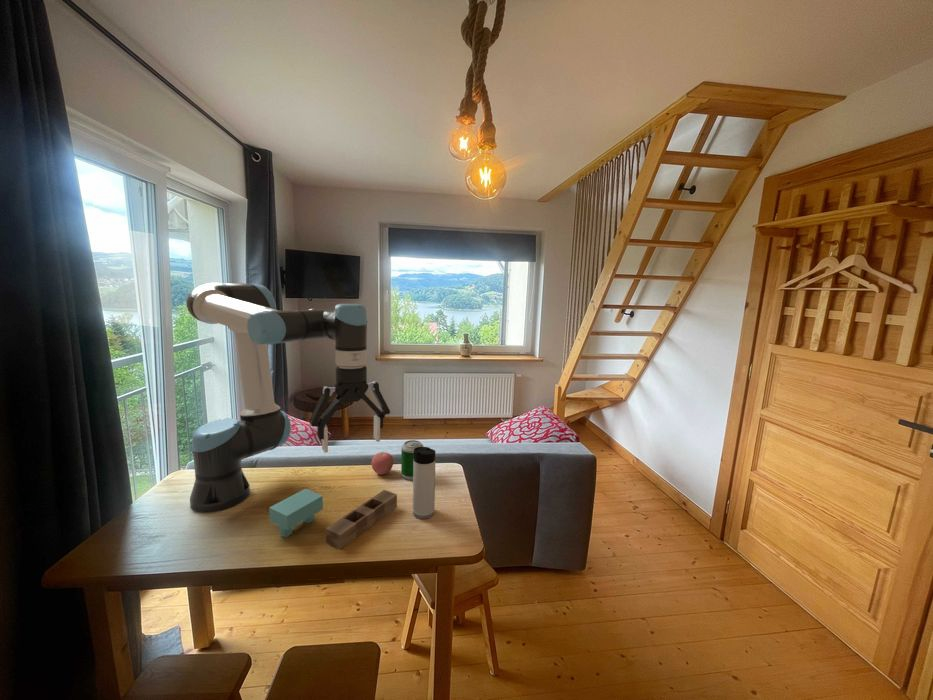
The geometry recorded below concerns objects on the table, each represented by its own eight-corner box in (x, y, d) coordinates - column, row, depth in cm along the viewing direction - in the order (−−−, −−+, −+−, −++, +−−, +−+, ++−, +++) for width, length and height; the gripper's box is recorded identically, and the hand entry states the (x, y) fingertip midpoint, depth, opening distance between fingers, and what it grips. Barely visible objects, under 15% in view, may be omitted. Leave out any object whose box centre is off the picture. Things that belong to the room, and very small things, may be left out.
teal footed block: (270, 533, 98) (269, 507, 97) (306, 512, 108) (305, 488, 107) (288, 543, 95) (286, 515, 94) (323, 520, 105) (322, 495, 104)
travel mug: (407, 513, 110) (408, 448, 106) (424, 504, 114) (425, 442, 111) (421, 522, 105) (422, 455, 102) (438, 513, 110) (440, 448, 107)
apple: (367, 475, 130) (367, 453, 129) (379, 466, 137) (379, 445, 136) (385, 480, 128) (385, 458, 126) (397, 471, 134) (397, 449, 133)
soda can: (418, 482, 127) (419, 449, 125) (397, 479, 128) (398, 446, 126) (425, 472, 134) (426, 440, 132) (405, 469, 136) (406, 438, 134)
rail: (326, 542, 96) (325, 528, 95) (384, 501, 115) (384, 489, 114) (340, 549, 93) (339, 535, 93) (396, 506, 112) (397, 494, 112)
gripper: (301, 373, 85) (304, 461, 88) (403, 364, 99) (401, 440, 102) (294, 366, 91) (297, 449, 94) (391, 359, 105) (390, 431, 108)
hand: (351, 445), depth 98 cm, fingers open, 13 cm apart
